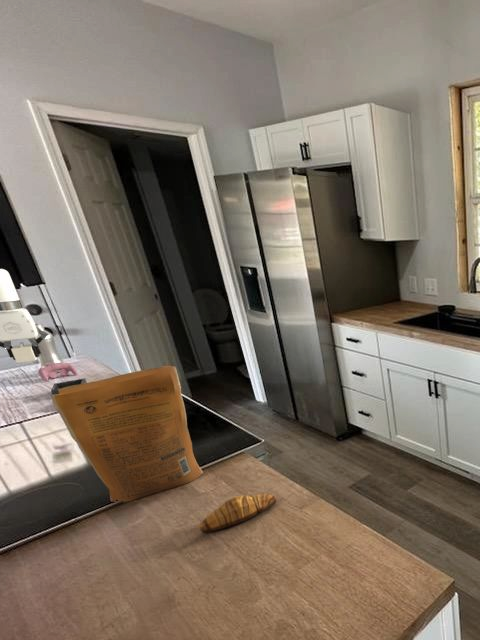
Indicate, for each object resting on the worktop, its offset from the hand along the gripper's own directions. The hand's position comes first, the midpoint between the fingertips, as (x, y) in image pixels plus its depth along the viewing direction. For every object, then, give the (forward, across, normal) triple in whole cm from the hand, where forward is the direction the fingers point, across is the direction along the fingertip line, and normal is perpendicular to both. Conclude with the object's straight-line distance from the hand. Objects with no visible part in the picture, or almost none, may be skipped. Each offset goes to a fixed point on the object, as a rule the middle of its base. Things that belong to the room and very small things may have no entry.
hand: (26, 357), depth 146 cm
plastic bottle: (+13, +2, +25) cm, 28 cm away
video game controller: (+13, +4, +15) cm, 20 cm away
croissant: (+12, +42, -131) cm, 138 cm away
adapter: (+13, +9, -10) cm, 18 cm away
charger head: (+1, 0, 0) cm, 1 cm away
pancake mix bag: (+12, +30, -107) cm, 112 cm away
